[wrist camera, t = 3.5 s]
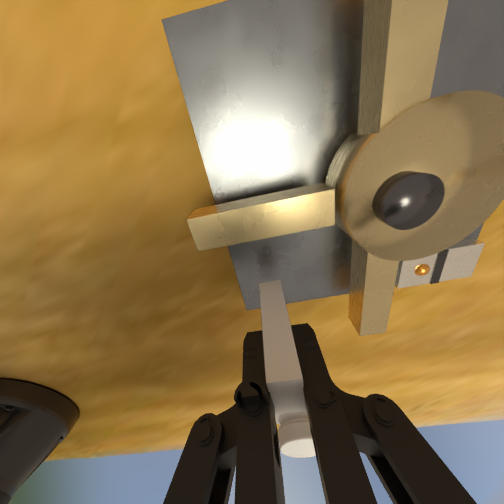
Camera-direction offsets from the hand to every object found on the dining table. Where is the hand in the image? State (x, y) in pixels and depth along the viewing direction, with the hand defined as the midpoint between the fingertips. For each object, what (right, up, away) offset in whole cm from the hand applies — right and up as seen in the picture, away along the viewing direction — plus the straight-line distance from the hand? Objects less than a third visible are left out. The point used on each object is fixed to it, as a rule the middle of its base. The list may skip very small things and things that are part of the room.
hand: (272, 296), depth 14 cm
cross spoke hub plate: (+6, +9, +1) cm, 11 cm away
